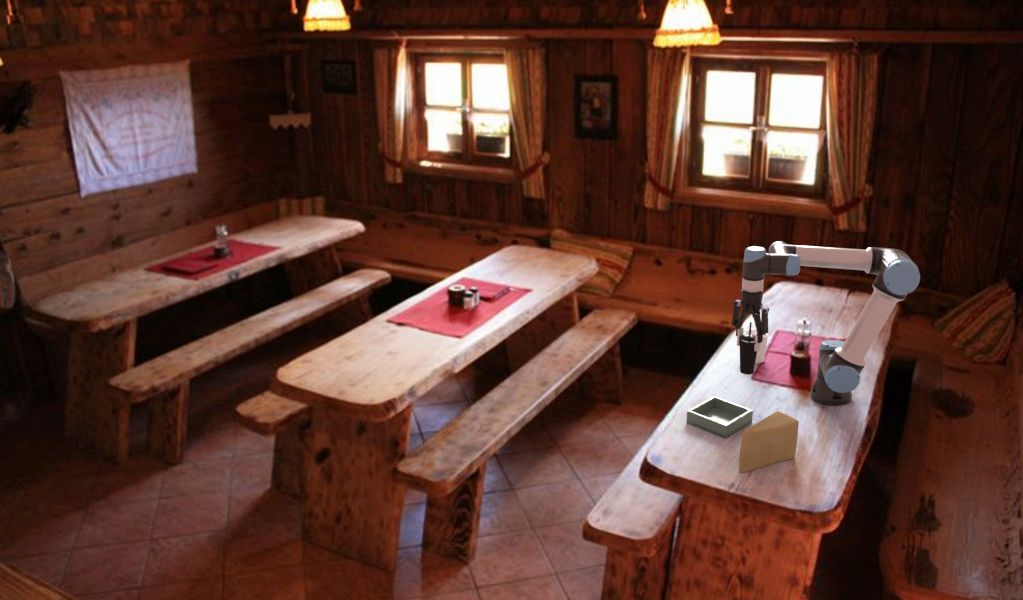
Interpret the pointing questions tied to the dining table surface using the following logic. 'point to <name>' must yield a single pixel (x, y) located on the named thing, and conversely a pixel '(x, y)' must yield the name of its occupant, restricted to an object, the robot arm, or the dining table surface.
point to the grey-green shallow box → (719, 416)
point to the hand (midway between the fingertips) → (748, 347)
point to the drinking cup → (747, 353)
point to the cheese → (768, 442)
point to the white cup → (763, 344)
